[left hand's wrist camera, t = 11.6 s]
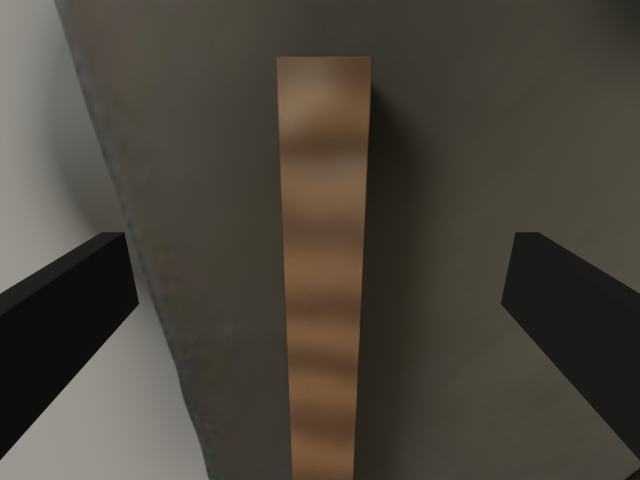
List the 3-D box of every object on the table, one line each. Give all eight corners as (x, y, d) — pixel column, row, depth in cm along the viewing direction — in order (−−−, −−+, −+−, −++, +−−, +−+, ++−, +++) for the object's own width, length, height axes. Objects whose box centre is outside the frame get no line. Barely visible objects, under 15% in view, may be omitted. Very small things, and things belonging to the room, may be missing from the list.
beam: (287, 68, 30) (275, 56, 21) (358, 67, 30) (372, 56, 21) (304, 624, 59) (301, 707, 51) (339, 624, 59) (342, 707, 51)
